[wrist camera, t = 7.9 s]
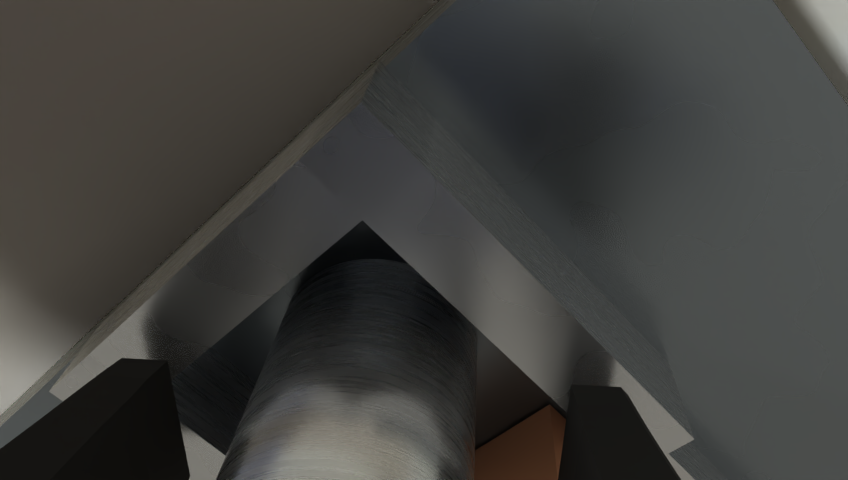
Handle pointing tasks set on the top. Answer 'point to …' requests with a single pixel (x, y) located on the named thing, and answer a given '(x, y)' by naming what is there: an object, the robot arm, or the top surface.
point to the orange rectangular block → (524, 450)
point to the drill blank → (363, 384)
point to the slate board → (548, 231)
